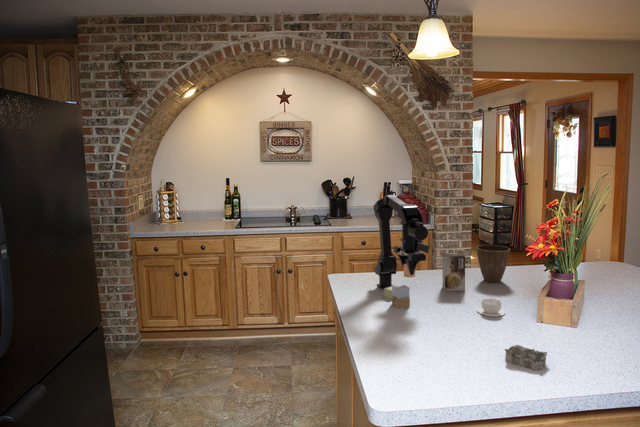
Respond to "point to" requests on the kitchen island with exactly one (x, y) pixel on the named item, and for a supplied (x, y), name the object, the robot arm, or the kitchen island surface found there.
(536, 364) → the egg carton
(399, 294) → the tower mid
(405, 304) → the tower base
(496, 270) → the plant pot
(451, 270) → the coffee box
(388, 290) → the olive block
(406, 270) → the terracotta cylinder
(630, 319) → the kitchen island surface
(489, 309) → the teacup
